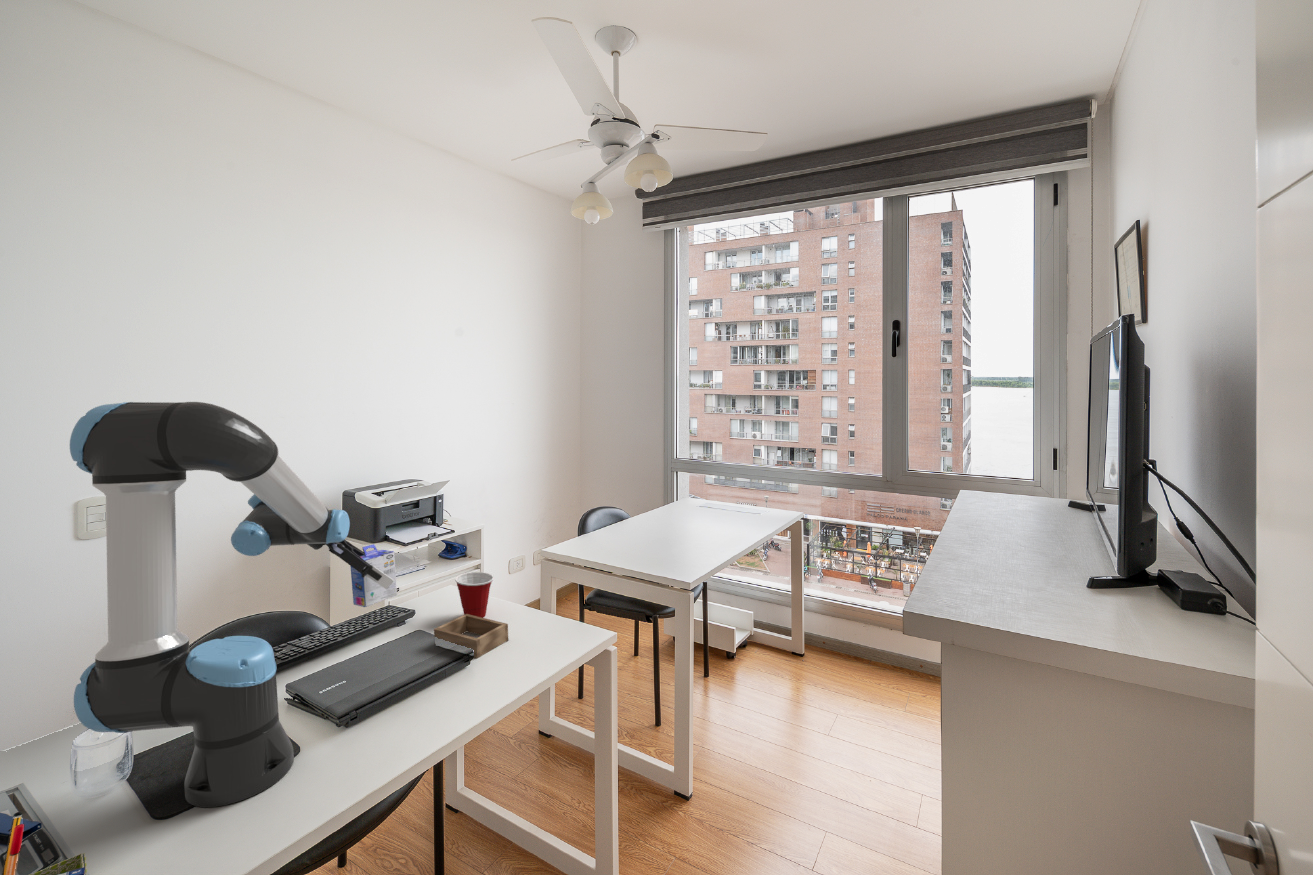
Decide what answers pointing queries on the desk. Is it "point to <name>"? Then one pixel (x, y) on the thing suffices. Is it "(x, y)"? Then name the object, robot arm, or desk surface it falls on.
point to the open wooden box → (488, 629)
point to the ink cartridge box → (368, 589)
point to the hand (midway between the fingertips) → (387, 579)
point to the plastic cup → (474, 592)
